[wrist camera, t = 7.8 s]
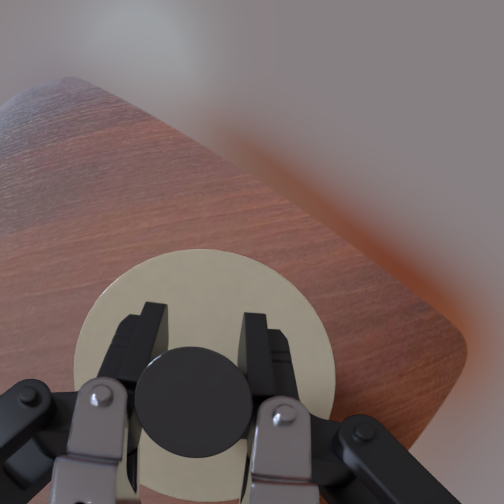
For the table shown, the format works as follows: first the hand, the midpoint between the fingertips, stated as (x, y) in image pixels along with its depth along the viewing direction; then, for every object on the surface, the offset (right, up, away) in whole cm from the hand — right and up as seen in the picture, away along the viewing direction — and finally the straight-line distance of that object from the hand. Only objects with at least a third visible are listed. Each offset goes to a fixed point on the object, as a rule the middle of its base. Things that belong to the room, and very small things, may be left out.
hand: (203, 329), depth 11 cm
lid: (-1, -3, +3) cm, 5 cm away
